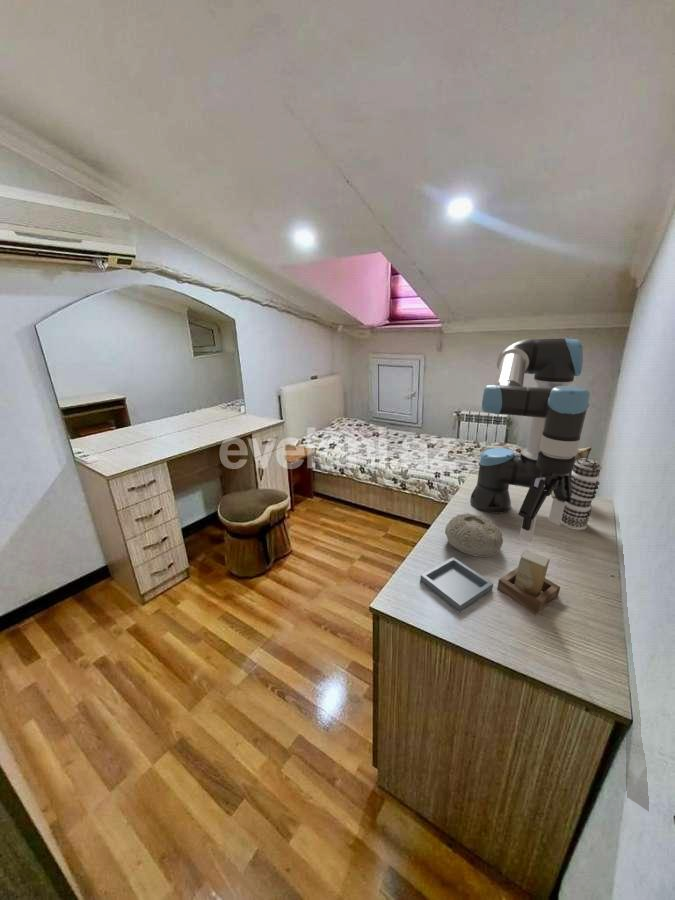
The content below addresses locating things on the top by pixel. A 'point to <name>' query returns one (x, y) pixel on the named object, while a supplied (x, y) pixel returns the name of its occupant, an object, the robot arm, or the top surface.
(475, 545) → the decorative shell
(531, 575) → the skincare box
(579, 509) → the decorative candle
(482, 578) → the tray
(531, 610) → the socket block
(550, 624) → the top surface
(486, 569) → the top surface
